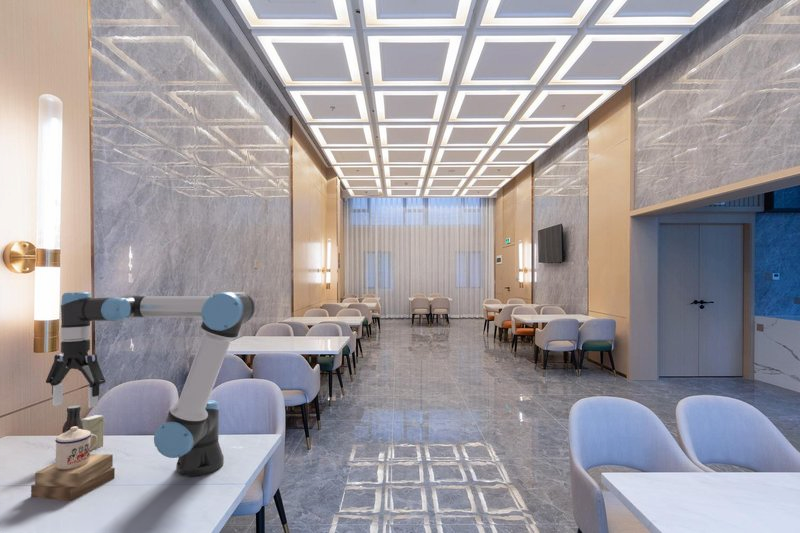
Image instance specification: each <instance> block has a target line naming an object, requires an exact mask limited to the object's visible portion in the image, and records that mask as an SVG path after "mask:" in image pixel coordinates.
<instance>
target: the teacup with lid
mask: <svg viewBox="0 0 800 533" xmlns="http://www.w3.org/2000/svg"><path fill="white" fill-rule="evenodd" d="M90 437H93V442H92V444H91V446H90ZM55 442H56V443H55V445H56V446H55V463H56V464H55V466H56V468H58V469H73V468H77V467H80V466H82V465H84V464H86V463H87V462H88V461H89V459H90V454H91V451H92V450H91V449H92V448H93V447H94V446H95V444H96V442H97V436H96V435H94V434H91V432H90V431H88V430H82V429H78V427H77V426H74V427H71V428H70V430H69V431H67V432H65V433H63V434H62V433H60V434H59V435H58V436H57V437H56V438H55Z"/></svg>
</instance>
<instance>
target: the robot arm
mask: <svg viewBox="0 0 800 533" xmlns="http://www.w3.org/2000/svg"><path fill="white" fill-rule="evenodd" d="M60 303H61V304H60V312H61V313H60V316H61V317H60V318H61V326H60V340H61V342H60V354H55V355H54V356H53V357H54V358H53V363H52V366H51V367H50V370H49V373H48V375H47V378H46V380H45V383H46V384H50V386H51V395H52V406H53V407H57V406H60V405H63V404H64V383H63V380H64V378H66V376H67V375H68V373H69V372H70V370H72V369H74V370H78V371H79V372H81V373H82V375H83V377H84V378H85V379H86V381H87V382H88V383H89V386H88V389H87V390H88V393H87V394H88V395H87V398H88V399H87V402H88V404H87V405H88V407H87V408H88V409H90V408H94V407H96V406H97V407H98V405H99V395H100V385H102V384H105V383H106V379H105V377H104V374H103V372H102V369H101V366H100V364H99V362H98V355H97V354H95V353H94V354H88V352H89V351H90V350H91V340H90V337H91V322H93V321H94V322H98V321H99V322H101V321H103V322H104V321H105V322H108V321H109V322H118V321H124V320H125V319H127V318H128V319H129V318H191V319H192V318H193V319H194V318H199V319H200V318H201V319H202V322H201V324H200V330H201V331H202V333H203V334H202V338H201V340H200V342H199V345H198V347H197V350H196V353H195V355H194V359H193V362H192V364H191V366H190V370H189V372H188V374H187V377H186V380H185V383H184V385H183V387H182V391H181V392H180V396H179V399H178V401H177V403H175V404H173V405H172V406H170V408H169V410H168V414H167V415H166V418H165V421H164V422H163V423H162V424H160V425H159V426H158V428H157V429H156V430H155V433H154V435H153V443H154V447H156V449H157V451H158V452H159V454H161V455H162V456H164V457H166V458H170V459H177V458H178V459H177V462H176V465H175V466H176V467H175V469H176V470H175V471H176V473H177V474H178V475H179V476H183V477H197V476H204V475H207V474H210V473H213V472H215V471H217V470H218V469H221V467H222V466H223V465H224V464H225V463H224V459H225V458H224V454H223V452H222V448H221V446H220V443H219V428H220V426H219V425H220V424H219V423H220V421H219V418H220V417H219V416H220V415H219V414H220V413H219V412H220V409H219V402H218V401H217V400H214V399H210V397H211V395H212V392H213V390H214V386H215V385H216V381H217V378H218V375H219V373H220V371H221V367H222V365H223V362H224V360H225V357H226V354H227V351H228V349H229V347H230V344H231V341H232V340H235V339H236V338H237V339H238V336H239V333H240V331H241V328H242V325H243V324H245V323H248V322H249V321H250V320H251V319H252V317H253V316H254V314H255V311H256V304H255V300H254V298H252V296H251V295H250V294H248V293H246V292H244V291H240V290H236V291H235V290H234V291H220V292H217V293H214V294H212V295H210V296H209V295H206V296H205V295H204V296H202V295H201V296H197V295H196V296H195V295H194V296H193V295H192V296H191V295H189V296H188V295H187V296H184V295H183V296H182V295H179V296H178V295H173V296H172V295H171V296H170V295H169V296H168V295H166V296H165V295H163V296H162V295H161V296H160V295H158V296H157V295H146V296H145V295H142V296H141V295H129V296H113V297H92V296H91V293H90V292H89V291H75V292H74V291H73V292H71V291H70V292H69V291H68V292H64V293H62V296H61V302H60Z"/></svg>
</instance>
